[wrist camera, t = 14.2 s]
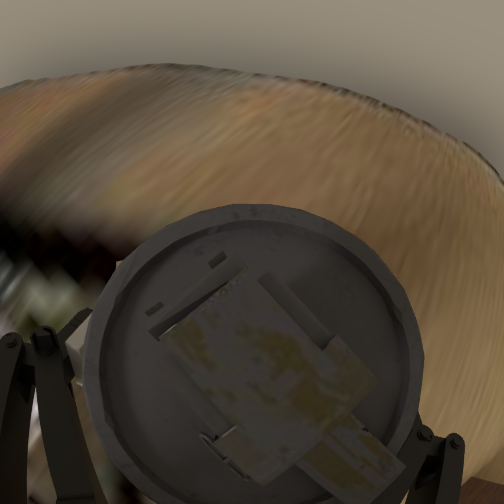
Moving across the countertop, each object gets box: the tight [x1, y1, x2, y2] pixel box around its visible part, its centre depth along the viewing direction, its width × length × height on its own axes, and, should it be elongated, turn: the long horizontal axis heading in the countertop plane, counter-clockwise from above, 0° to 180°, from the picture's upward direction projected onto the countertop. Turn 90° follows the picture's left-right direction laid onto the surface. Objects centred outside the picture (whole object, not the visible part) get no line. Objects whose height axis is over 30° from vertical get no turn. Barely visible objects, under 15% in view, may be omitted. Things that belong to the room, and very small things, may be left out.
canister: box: [82, 204, 424, 504], centre depth 14 cm, size 11×10×20 cm
